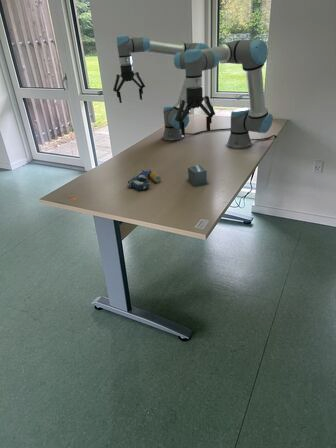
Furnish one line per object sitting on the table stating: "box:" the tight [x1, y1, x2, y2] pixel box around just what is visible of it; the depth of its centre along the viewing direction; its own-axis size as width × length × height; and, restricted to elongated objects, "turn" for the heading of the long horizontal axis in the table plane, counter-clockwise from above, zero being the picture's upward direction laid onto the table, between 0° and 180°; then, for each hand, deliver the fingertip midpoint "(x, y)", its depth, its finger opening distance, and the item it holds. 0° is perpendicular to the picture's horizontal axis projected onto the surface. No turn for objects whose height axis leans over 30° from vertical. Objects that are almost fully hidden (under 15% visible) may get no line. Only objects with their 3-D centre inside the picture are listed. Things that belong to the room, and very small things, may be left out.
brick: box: [187, 164, 208, 187], centre depth 177 cm, size 7×9×7 cm
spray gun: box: [126, 169, 162, 191], centre depth 181 cm, size 21×4×15 cm
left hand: (130, 101), depth 214 cm, fingers open, 13 cm apart
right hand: (195, 132), depth 165 cm, fingers open, 13 cm apart
